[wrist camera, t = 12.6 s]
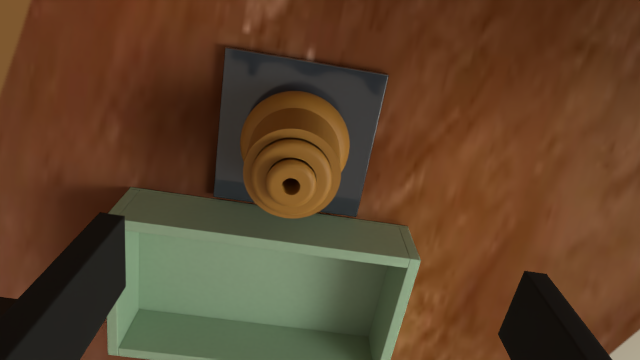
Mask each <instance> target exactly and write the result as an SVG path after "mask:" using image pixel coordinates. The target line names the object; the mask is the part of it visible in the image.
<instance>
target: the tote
mask: <svg viewBox="0 0 640 360" xmlns="http://www.w3.org/2000/svg"><path fill="white" fill-rule="evenodd" d="M108 214H115V215H122V216H125V257H126V287H125V289H124V291H123V292H122V294H121V295H120V297H119V298H118V300H117V302H116V303H115V305H114V306H113V308H112V309H111V311H110V313H109V314H108V316H107V340H108V354H109V355H119V356H124V357H133V358H142V359H151V360H390V359H391V356H392V353H393V349H394V346H395V343H396V340H397V336H398V333H399V330H400V327H401V323H402V320H403V317H404V314H405V310H406V307H407V304H408V301H409V297H410V294H411V291H412V287H413V284H414V281H415V278H416V274H417V271H418V268H419V265H420V261H421V260H420V257H419V255H418V252H417V249H416V247H415V244H414V242H413V239H412V237H411V234H410V231H409V229H408V226H402V225H395V224H388V223H381V222H374V221H367V220H360V219H353V218H346V217H339V216H332V215H325V214H317V213H315V214H313V215H311V216H307V217H303V218H295V219H291V218H282V217H278V216H275V215H272V214H270V213H268V212H266V211H265V210H263V209H262V208H260V207H259V206H258V205H254V204H247V203H240V202H233V201H226V200H219V199H211V198H204V197H197V196H190V195H183V194H176V193H169V192H162V191H155V190H148V189H141V188H134V187H130V188H129V190H128V191H127V192H126V193H125V194H124V195H123V197H122V198H121V199H120V200H119V201H118V202H117V203H116V205H115V206H114V207H113V208H112V209H111V210H110V211H109V212H108Z"/></svg>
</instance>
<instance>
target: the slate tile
mask: <svg viewBox="0 0 640 360" xmlns="http://www.w3.org/2000/svg"><path fill="white" fill-rule="evenodd" d="M388 77H389V76H388V74H386V73H381V72H375V71H369V70H363V69H357V68H351V67H345V66H339V65H333V64H327V63H322V62H316V61H310V60H304V59H298V58H292V57H286V56H280V55H274V54H268V53H263V52H257V51H251V50H245V49H239V48H233V47H226V48H225V58H224V70H223V83H222V95H221V107H220V120H219V132H218V145H217V157H216V169H215V182H214V194H213V196H214V197H220V198H227V199H234V200H241V201H248V202H254V201H253V200H252V198H251V197H250V195H249V194H248V192H247V190H246V187H245V184H244V180H243V166H244V162H243V159H242V155H241V149H240V137H241V132H242V128H243V125H244V123H245V121H246V119H247V117H248V115H249V114H250V112H251V111H252V110H253V109H254V108H255V107H256V106H257V105H258V104H259V103H260V102H261V101H263V100H264V99H266V98H268V97H270V96H272V95H275V94H277V93H281V92H286V91H303V92H308V93H311V94H314V95H317V96H319V97H321V98H323V99H324V100H326V101H327V102H329V103H330V104H331V105H332V106H333V107H334V108H335V109H336V110H337V111H338V112H339V114H340V115H341V117H342V118H343V120H344V122H345V124H346V127H347V130H348V134H349V141H350V148H349V155H348V159H347V162H346V165H345V167H344V169H343V171H342V172H341V180H340V185H339V188H338V191H337V193H336V195H335V197H334V198H333V199H332V201H331V202H330V203H329V204H328V205H327V206H326V207H325V208H323V209H322V210H321V211H319V212H326V213H333V214H340V215H347V216H354V217H356V216H357V212H358V208H359V204H360V199H361V195H362V191H363V186H364V182H365V177H366V173H367V169H368V164H369V160H370V155H371V151H372V147H373V142H374V138H375V134H376V129H377V125H378V120H379V116H380V112H381V107H382V103H383V98H384V94H385V90H386V85H387V81H388ZM262 150H263V149H262ZM326 157H327V156H326Z"/></svg>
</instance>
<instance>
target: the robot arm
mask: <svg viewBox="0 0 640 360" xmlns="http://www.w3.org/2000/svg"><path fill="white" fill-rule="evenodd" d="M125 287H126V257H125V216H122V215H115V214H108V213H99V214H98V215H97V216H96V217H95V218H94V219H93V220H92V221H91V222H90V223H89V224H88V226H87V227H86V228H85V229H84V230H83V231H82V232H81V233H80V234H79V235H78V236H77V237H76V238H75V239H74V240H73V241H72V242H71V243H70V245H69V246H68V247H67V248H66V249H65V250H64V251H63V252H62V253H61V254H60V255H59V256H58V257H57V258H56V259H55V260H54V261H53V262H52V264H51V265H50V266H49V267H48V268H47V269H46V270H45V271H44V272H43V273H42V274H41V275H40V276H39V277H38V278H37V279H36V280H35V282H34V283H33V284H32V285H31V286H30V287H29V288H28V289H27V290H26V291H25V292H24V293H23V294H22V295H21V296H20V297H19V298H18V299H12V298H4V297H0V360H80V358H81V357H82V355H83V354H84V352H85V351H86V349H87V347H88V346H89V344H90V343H91V341H92V340H93V338H94V336H95V335H96V333H97V332H98V330H99V328H100V327H101V325H102V324H103V322H104V321H105V319H106V317H107V316H108V314H109V313H110V311H111V309H112V308H113V306H114V305H115V303H116V302H117V300H118V298H119V297H120V295H121V294H122V292H123V291H124V289H125ZM498 335H499V337H500V339H501V341H502V343H503V345H504V347H505V349H506V351H507V353H508V355H509V357H510V359H511V360H612V359H611V358H610V356H609V355H608V353H607V352H606V351H605V350H604V348H603V347H602V346H601V344H600V343H599V342H598V340H597V339H596V338H595V337H594V335H593V334H592V333H591V331H590V330H589V329H588V327H587V326H586V325H585V324H584V322H583V321H582V320H581V318H580V317H579V316H578V314H577V313H576V312H575V311H574V309H573V308H572V307H571V305H570V304H569V303H568V301H567V300H566V299H565V298H564V296H563V295H562V294H561V292H560V291H559V290H558V288H557V287H556V286H555V285H554V283H553V282H552V281H551V279H550V278H549V277H548V275H547V274H543V273H535V272H528V271H524V273H523V276H522V278H521V280H520V283H519V285H518V288H517V290H516V292H515V295H514V297H513V300H512V302H511V304H510V307H509V309H508V312H507V314H506V316H505V319H504V321H503V323H502V326H501V328H500V331H499V333H498Z"/></svg>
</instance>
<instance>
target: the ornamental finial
mask: <svg viewBox="0 0 640 360" xmlns="http://www.w3.org/2000/svg"><path fill="white" fill-rule="evenodd" d="M349 148H350V141H349V134H348V130H347V127H346V124H345V122H344V120H343V118H342V117H341V115H340V114H339V112H338V111H337V110H336V109H335V108H334V107H333V106H332V105H331V104H330V103H329V102H327V101H326V100H324V99H323V98H321V97H319V96H317V95H314V94H311V93H308V92H303V91H286V92H281V93H277V94H275V95H272V96H270V97H268V98H266V99H264V100H263V101H261V102H260V103H259V104H258V105H257V106H256V107H255V108H254V109H253V110H252V111H251V112H250V114H249V115H248V117H247V119H246V121H245V123H244V125H243V128H242V132H241V137H240V149H241V155H242V159H243V162H244V166H243V180H244V184H245V187H246V190H247V192H248V194H249V195H250V197H251V198H252V200H253V201H254V202H255V203H256V204H257V205H258V206H259V207H260V208H262V209H263V210H265V211H266V212H268V213H270V214H272V215H275V216H278V217H282V218H291V219H295V218H303V217H307V216H311V215H313V214H315V213H317V212H319V211H321V210H322V209H323V208H325V207H326V206H327V205H328V204H329V203H330V202H331V201H332V199H333V198H334V197H335V195H336V193H337V191H338V188H339V185H340V180H341V172H342V171H343V169H344V167H345V165H346V162H347V159H348V155H349ZM262 149H263V150H262ZM326 156H327V157H326Z"/></svg>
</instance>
